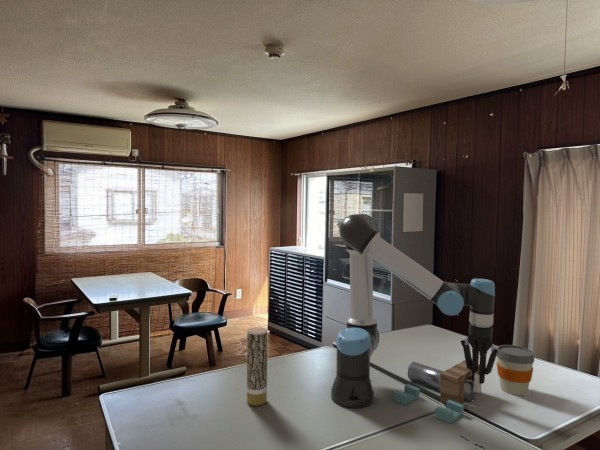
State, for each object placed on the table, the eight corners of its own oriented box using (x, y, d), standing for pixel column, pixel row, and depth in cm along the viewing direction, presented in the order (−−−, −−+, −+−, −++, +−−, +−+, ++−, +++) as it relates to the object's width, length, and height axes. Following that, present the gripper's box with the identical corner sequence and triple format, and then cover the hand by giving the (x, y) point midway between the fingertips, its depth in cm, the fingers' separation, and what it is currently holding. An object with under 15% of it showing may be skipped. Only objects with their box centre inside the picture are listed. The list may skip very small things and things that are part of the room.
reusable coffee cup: (487, 385, 155) (488, 346, 154) (512, 380, 159) (513, 343, 159) (515, 400, 143) (516, 358, 143) (541, 394, 148) (542, 354, 147)
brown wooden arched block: (456, 407, 137) (457, 378, 137) (440, 401, 142) (440, 373, 141) (479, 391, 150) (480, 364, 149) (463, 386, 154) (464, 360, 154)
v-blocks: (450, 423, 127) (450, 414, 127) (393, 399, 142) (393, 391, 142) (463, 414, 133) (463, 405, 133) (407, 392, 148) (407, 384, 148)
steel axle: (476, 398, 145) (477, 379, 145) (468, 404, 140) (469, 383, 140) (416, 377, 162) (417, 360, 162) (407, 381, 157) (408, 363, 157)
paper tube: (248, 407, 135) (248, 333, 134) (245, 398, 142) (246, 327, 141) (268, 405, 137) (269, 332, 136) (264, 396, 144) (265, 326, 143)
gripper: (505, 326, 137) (501, 394, 139) (467, 318, 147) (464, 382, 148) (496, 331, 132) (492, 401, 134) (457, 321, 142) (454, 387, 143)
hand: (477, 391), depth 141 cm, fingers closed
